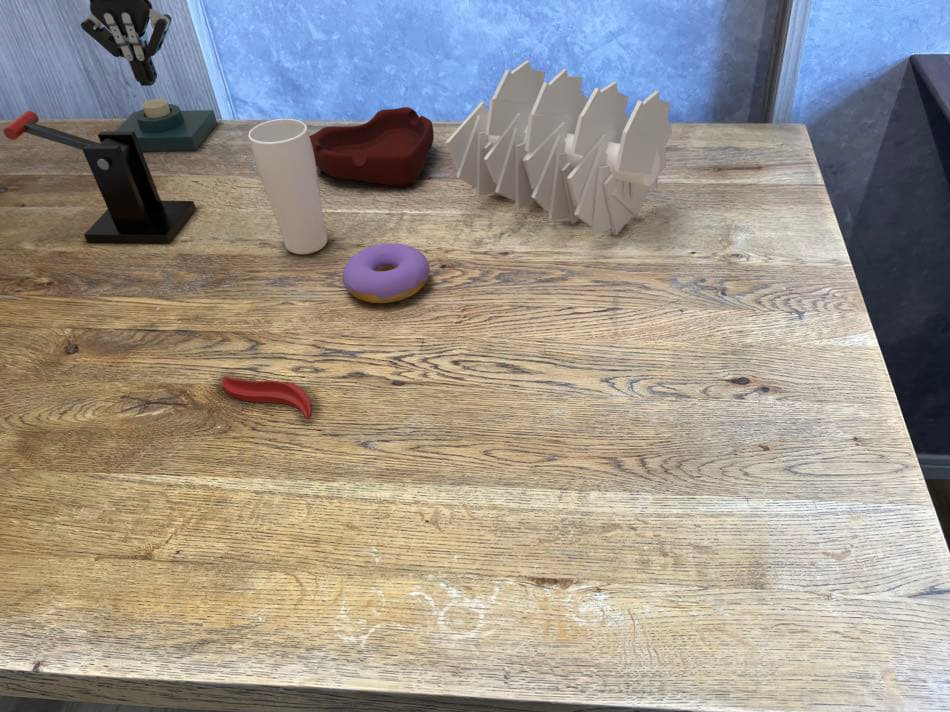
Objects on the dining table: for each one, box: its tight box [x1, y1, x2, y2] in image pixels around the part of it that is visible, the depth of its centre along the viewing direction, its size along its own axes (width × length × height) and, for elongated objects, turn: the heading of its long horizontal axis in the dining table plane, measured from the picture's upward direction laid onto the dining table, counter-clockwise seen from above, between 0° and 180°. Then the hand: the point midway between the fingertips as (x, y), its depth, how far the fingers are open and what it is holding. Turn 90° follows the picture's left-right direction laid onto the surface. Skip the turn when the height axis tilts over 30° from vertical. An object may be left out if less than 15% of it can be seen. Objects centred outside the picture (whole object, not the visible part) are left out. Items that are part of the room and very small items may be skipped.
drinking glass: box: [247, 118, 329, 255], centre depth 98 cm, size 7×7×15 cm
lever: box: [3, 110, 130, 164], centre depth 100 cm, size 13×5×2 cm, turn 86°
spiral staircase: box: [444, 60, 674, 237], centre depth 101 cm, size 18×18×25 cm
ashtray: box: [309, 106, 435, 188], centre depth 116 cm, size 18×16×5 cm
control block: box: [115, 103, 218, 152], centre depth 127 cm, size 13×10×4 cm
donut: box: [342, 242, 430, 304], centre depth 94 cm, size 10×9×5 cm
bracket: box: [81, 130, 197, 244], centre depth 104 cm, size 11×9×12 cm
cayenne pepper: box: [221, 376, 312, 420], centre depth 81 cm, size 12×5×2 cm, turn 52°
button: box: [142, 98, 171, 118], centre depth 125 cm, size 4×4×2 cm
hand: (148, 83), depth 123 cm, fingers closed
